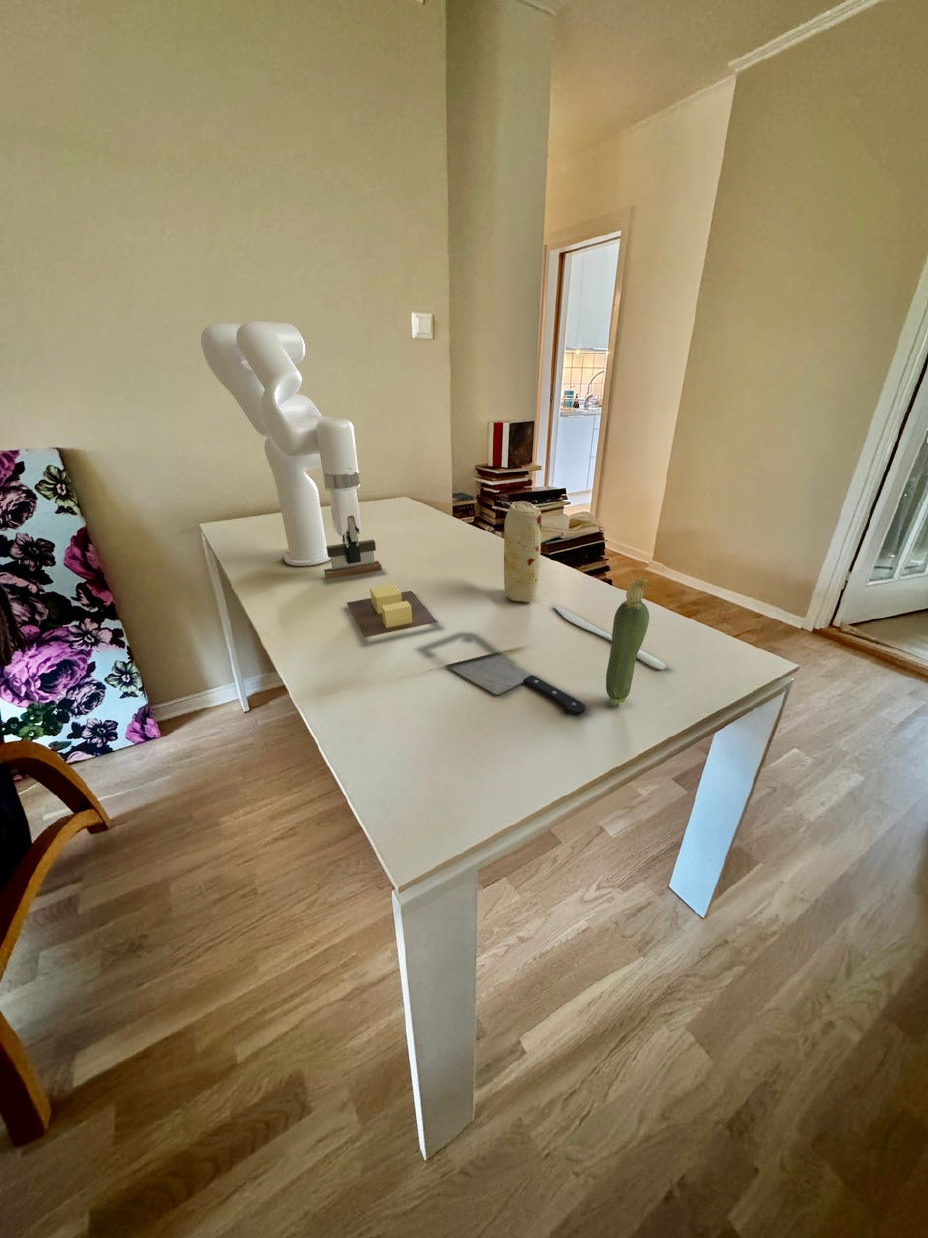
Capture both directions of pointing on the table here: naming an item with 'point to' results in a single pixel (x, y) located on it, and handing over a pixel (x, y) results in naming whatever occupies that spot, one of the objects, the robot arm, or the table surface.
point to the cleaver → (510, 679)
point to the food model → (522, 551)
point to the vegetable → (626, 642)
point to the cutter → (339, 555)
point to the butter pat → (396, 614)
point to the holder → (352, 571)
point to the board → (373, 621)
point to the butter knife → (590, 627)
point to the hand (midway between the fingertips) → (352, 560)
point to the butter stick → (384, 596)
